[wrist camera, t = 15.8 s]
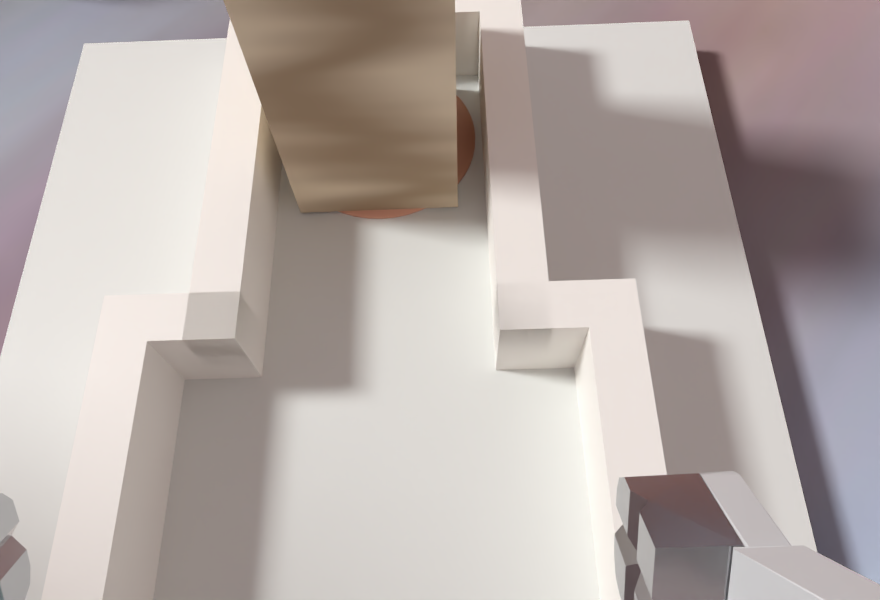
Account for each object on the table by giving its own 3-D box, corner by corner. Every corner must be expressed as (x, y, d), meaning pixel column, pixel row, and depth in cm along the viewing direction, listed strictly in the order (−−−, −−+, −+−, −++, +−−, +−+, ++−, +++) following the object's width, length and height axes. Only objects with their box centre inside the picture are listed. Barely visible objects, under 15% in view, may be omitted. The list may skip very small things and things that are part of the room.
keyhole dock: (-95, 851, 15) (-247, 903, 12) (100, 69, 25) (45, -20, 22) (858, 832, 15) (968, 880, 12) (679, 48, 25) (712, -46, 22)
